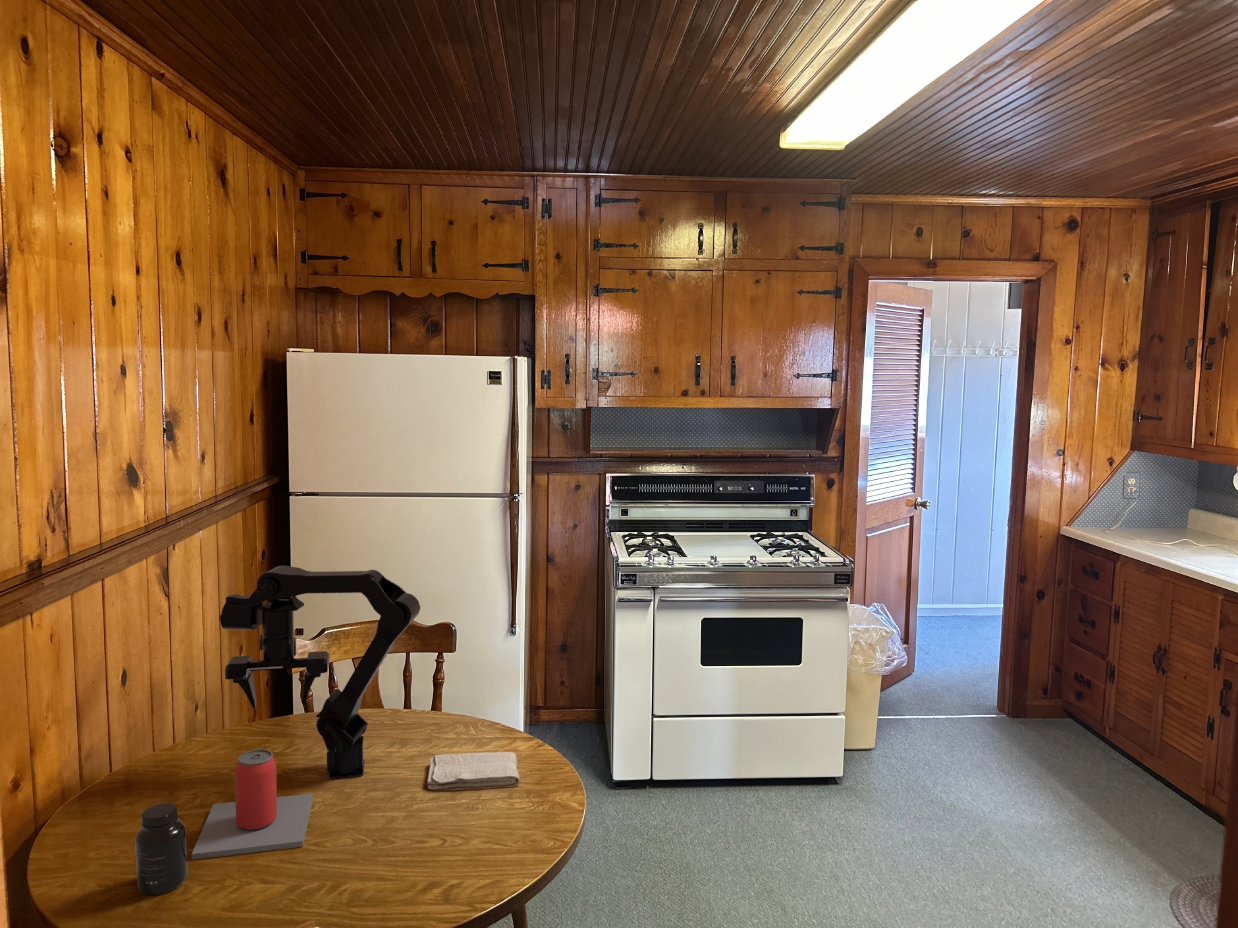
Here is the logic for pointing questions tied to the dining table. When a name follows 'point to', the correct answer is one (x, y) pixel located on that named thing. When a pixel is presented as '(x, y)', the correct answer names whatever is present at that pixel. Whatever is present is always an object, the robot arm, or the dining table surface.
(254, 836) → the slate board
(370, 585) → the robot arm
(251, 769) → the beer can
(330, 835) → the dining table surface
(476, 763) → the washcloth
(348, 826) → the dining table surface
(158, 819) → the supplement bottle
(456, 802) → the dining table surface
